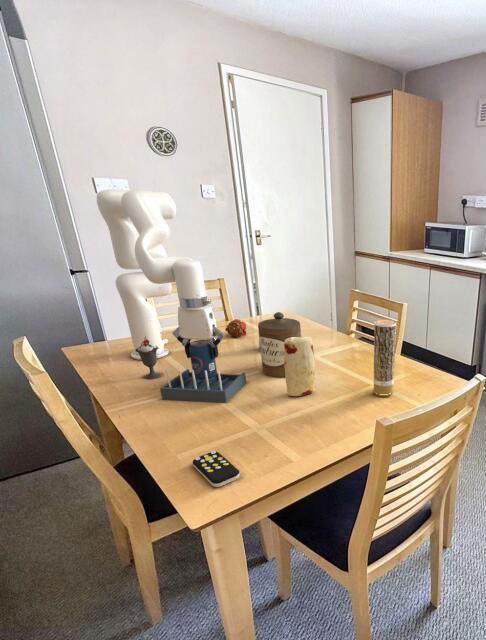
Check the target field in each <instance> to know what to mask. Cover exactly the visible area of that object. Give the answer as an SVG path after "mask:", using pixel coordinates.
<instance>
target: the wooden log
mask: <svg viewBox="0 0 486 640" xmlns="http://www.w3.org/2000/svg"><path fill="white" fill-rule="evenodd" d="M373 325H374V327H373V329H374V330H373V339H374V340H373V393H374V395H375V396H376V397H381V398H382V397H383V398H385V397H386V398H387V397H390V396H393V394H394V386H395V385H394V384H395V359H396V357H395V355H396V354H395V353H396V326H397V323H396V321H394V320H391V319H376V320H375V321H374V324H373ZM392 392H393V393H392ZM376 393H377V394H376ZM389 393H391V394H389ZM380 394H388V395H380Z"/></svg>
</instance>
